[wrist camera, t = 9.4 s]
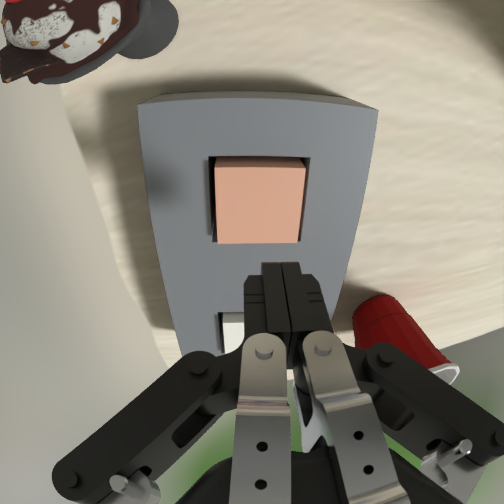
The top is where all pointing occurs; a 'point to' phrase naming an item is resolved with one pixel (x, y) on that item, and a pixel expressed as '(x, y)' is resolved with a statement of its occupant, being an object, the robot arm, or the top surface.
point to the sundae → (80, 35)
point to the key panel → (204, 198)
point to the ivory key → (233, 330)
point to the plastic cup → (399, 334)
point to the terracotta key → (258, 198)
